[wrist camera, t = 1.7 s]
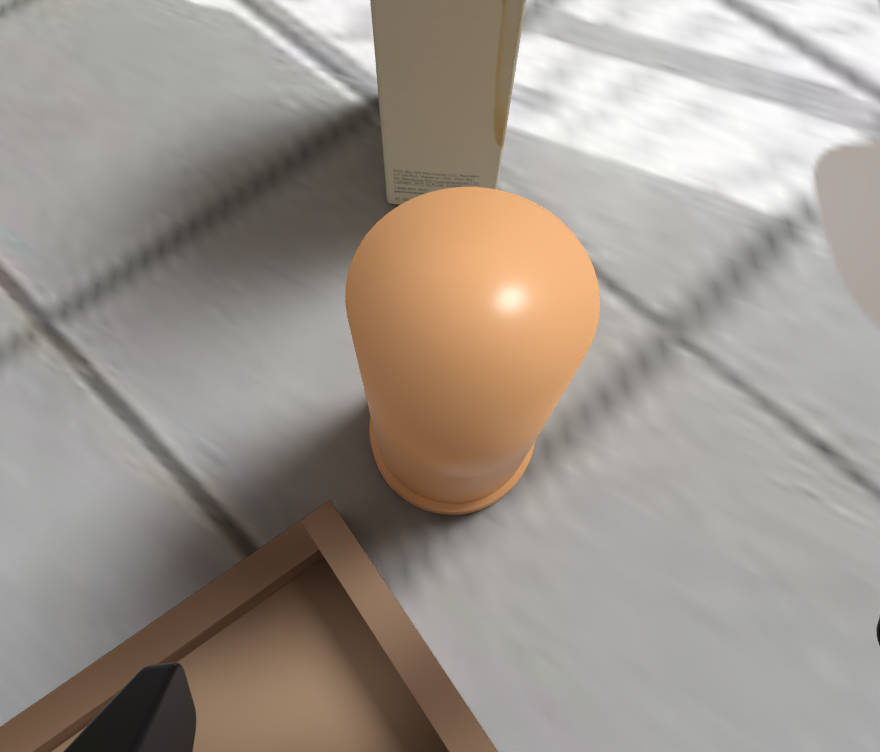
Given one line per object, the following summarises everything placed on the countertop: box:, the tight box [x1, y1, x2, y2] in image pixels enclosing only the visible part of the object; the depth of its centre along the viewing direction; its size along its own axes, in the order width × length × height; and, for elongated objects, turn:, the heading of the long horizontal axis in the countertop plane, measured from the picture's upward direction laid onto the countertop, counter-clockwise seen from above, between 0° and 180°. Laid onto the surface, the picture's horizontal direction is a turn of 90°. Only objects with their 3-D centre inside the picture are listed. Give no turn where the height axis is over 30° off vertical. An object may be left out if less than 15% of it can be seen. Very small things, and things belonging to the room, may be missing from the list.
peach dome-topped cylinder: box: [345, 187, 600, 515], centre depth 18 cm, size 5×5×10 cm
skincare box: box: [370, 0, 526, 204], centre depth 21 cm, size 6×4×12 cm
